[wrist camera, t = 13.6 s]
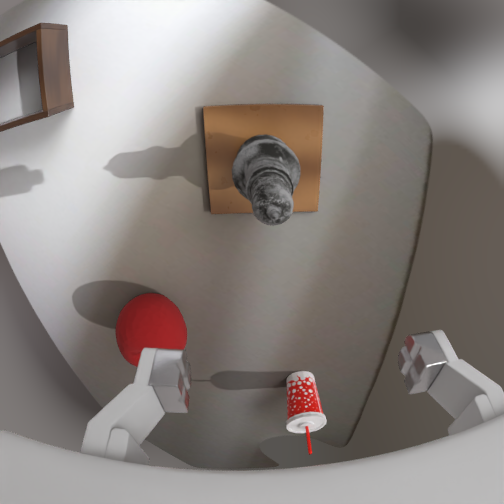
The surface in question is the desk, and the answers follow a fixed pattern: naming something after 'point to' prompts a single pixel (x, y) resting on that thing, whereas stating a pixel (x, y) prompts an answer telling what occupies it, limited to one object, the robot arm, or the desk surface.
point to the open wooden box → (45, 68)
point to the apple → (149, 326)
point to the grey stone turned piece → (267, 177)
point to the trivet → (261, 123)
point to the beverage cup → (303, 405)
